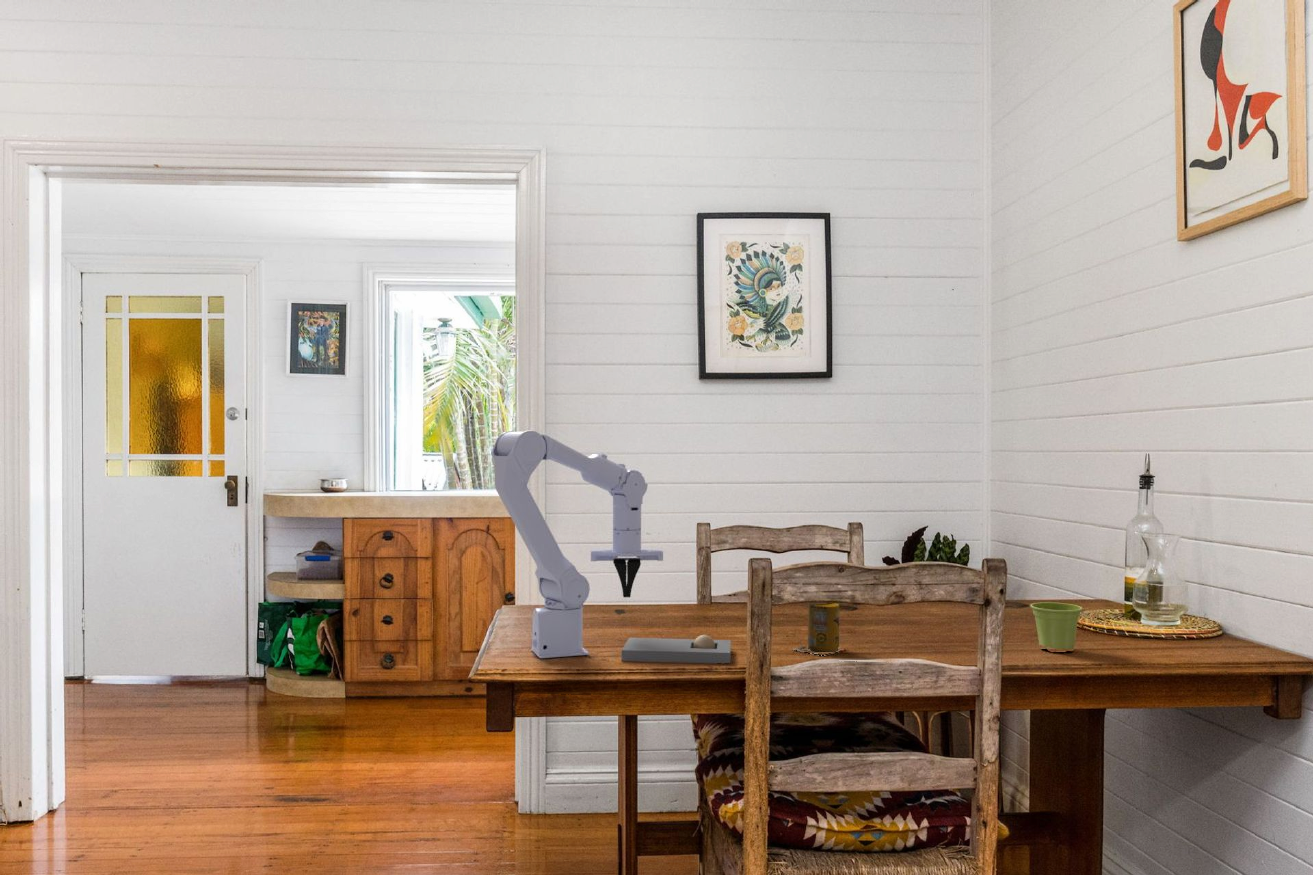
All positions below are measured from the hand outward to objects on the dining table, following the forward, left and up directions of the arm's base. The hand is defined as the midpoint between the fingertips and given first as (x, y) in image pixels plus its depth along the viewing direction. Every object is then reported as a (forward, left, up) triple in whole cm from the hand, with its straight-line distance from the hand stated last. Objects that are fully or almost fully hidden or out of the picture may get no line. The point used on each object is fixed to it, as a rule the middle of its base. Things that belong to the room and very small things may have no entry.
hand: (626, 596), depth 181 cm
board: (+6, -13, -9) cm, 17 cm away
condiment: (+34, -18, -10) cm, 40 cm away
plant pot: (+78, -33, -10) cm, 85 cm away
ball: (+11, -15, -7) cm, 20 cm away
